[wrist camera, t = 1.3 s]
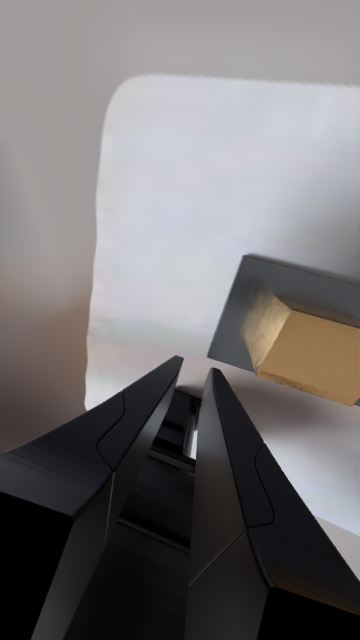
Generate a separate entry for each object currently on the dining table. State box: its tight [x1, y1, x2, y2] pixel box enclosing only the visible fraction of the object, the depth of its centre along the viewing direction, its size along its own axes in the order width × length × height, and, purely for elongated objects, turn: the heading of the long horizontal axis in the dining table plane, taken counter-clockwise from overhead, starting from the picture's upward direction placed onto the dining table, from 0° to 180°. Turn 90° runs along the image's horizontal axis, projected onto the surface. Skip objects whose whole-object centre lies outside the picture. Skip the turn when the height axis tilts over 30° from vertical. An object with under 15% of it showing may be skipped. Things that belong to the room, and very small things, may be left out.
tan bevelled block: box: [248, 296, 360, 406], centre depth 14 cm, size 6×7×4 cm
